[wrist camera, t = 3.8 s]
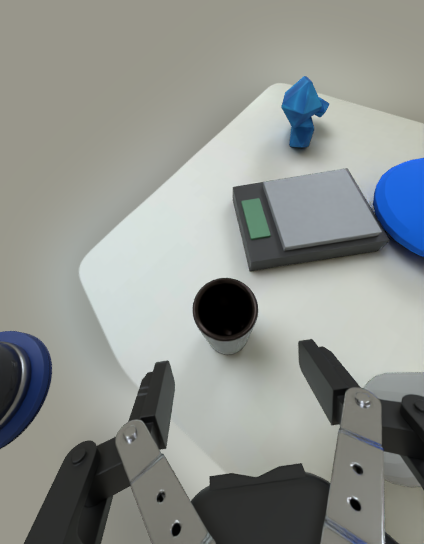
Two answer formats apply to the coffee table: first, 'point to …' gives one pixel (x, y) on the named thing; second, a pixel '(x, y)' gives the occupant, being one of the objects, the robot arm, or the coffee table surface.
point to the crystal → (302, 111)
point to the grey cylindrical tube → (225, 314)
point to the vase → (403, 204)
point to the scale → (305, 220)
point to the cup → (395, 390)
